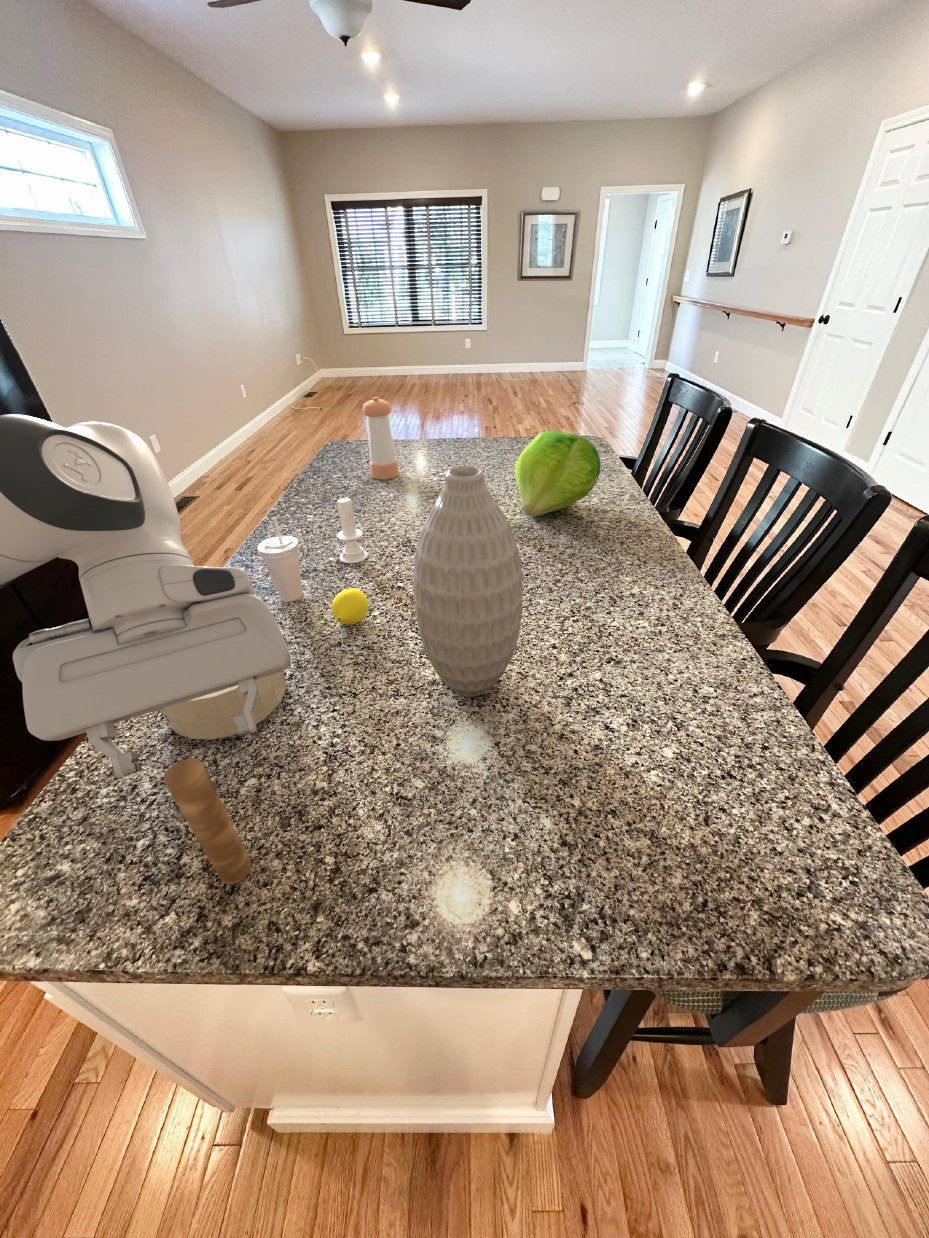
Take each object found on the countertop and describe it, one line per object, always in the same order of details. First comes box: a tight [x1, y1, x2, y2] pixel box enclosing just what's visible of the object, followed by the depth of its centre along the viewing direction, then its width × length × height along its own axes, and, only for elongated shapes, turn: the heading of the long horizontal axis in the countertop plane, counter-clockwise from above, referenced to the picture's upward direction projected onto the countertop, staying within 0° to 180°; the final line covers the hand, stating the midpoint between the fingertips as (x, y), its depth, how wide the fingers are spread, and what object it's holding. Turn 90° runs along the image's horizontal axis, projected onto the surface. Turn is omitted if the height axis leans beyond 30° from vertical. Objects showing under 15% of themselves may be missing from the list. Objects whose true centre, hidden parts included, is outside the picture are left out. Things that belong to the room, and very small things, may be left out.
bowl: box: [159, 670, 287, 740], centre depth 64 cm, size 14×14×7 cm
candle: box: [336, 497, 369, 564], centre depth 94 cm, size 5×5×12 cm
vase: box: [412, 465, 524, 697], centre depth 60 cm, size 13×13×28 cm
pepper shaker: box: [362, 396, 400, 480], centre depth 130 cm, size 7×7×19 cm
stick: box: [163, 757, 252, 885], centre depth 43 cm, size 3×3×14 cm
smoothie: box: [256, 517, 303, 603], centre depth 83 cm, size 6×6×14 cm
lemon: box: [331, 587, 370, 626], centre depth 78 cm, size 7×5×5 cm
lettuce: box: [514, 429, 602, 517], centre depth 110 cm, size 17×20×17 cm
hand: (191, 753), depth 44 cm, fingers open, 8 cm apart
